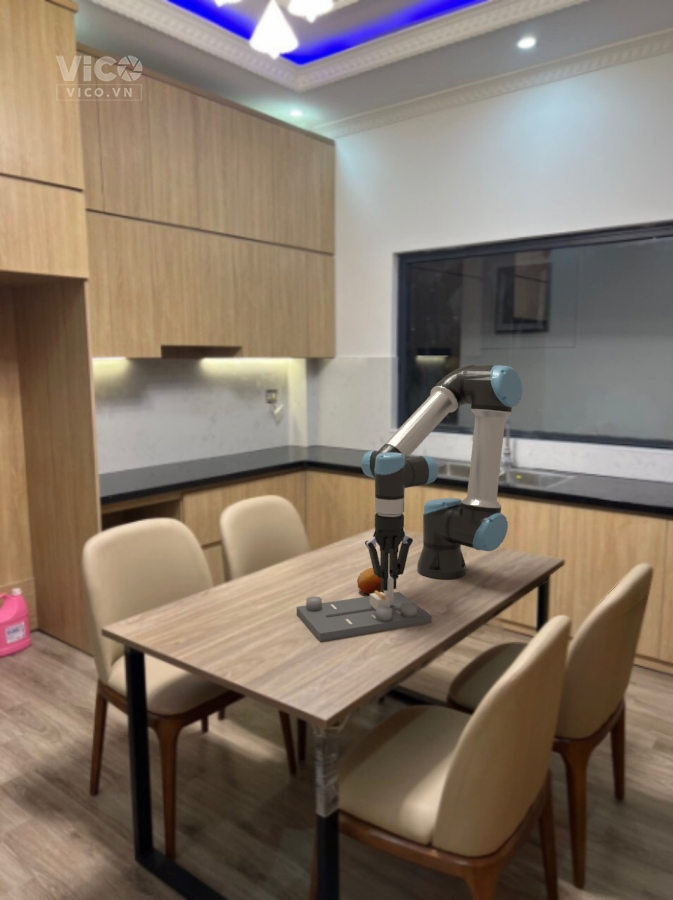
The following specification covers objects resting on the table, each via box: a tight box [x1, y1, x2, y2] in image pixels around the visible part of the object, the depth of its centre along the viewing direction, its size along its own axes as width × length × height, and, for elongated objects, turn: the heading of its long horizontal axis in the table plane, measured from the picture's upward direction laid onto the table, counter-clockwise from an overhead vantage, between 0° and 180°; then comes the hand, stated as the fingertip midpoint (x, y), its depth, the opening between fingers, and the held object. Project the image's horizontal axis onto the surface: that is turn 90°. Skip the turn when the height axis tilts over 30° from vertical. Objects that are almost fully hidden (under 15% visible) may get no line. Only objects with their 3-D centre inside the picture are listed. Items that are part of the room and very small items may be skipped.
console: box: [296, 591, 432, 642], centre depth 167 cm, size 30×18×4 cm, turn 111°
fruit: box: [356, 567, 382, 596], centre depth 186 cm, size 8×8×8 cm
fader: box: [369, 591, 390, 610], centre depth 168 cm, size 4×5×4 cm
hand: (388, 601), depth 169 cm, fingers closed
